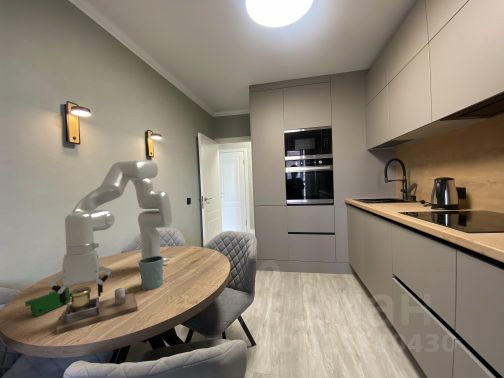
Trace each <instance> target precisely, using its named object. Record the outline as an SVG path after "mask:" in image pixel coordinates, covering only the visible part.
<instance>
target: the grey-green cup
mask: <svg viewBox="0 0 504 378" xmlns="http://www.w3.org/2000/svg"><path fill="white" fill-rule="evenodd" d="M163 258H164V256H162V255H160V256H150V257H145V258H143V259H142V258H141V259H139V260H138V270H139V269H140V270H139V274H140V275H139V276H140V280H141V281H140V283H141V288H142V289H143V290H146V291H150V290H154V289H158V288H161V286H162V285H163V284H164V282H163V281H164V279H163V277H164V276H163V275H164V269H163V268H164V266H163Z"/></svg>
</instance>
